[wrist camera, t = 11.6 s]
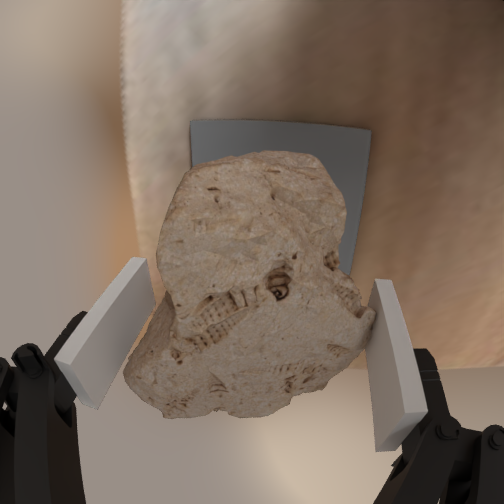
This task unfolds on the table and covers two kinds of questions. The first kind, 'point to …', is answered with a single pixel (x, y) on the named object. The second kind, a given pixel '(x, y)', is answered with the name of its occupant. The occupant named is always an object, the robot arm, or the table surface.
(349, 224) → the pad
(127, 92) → the table surface
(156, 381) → the stone
